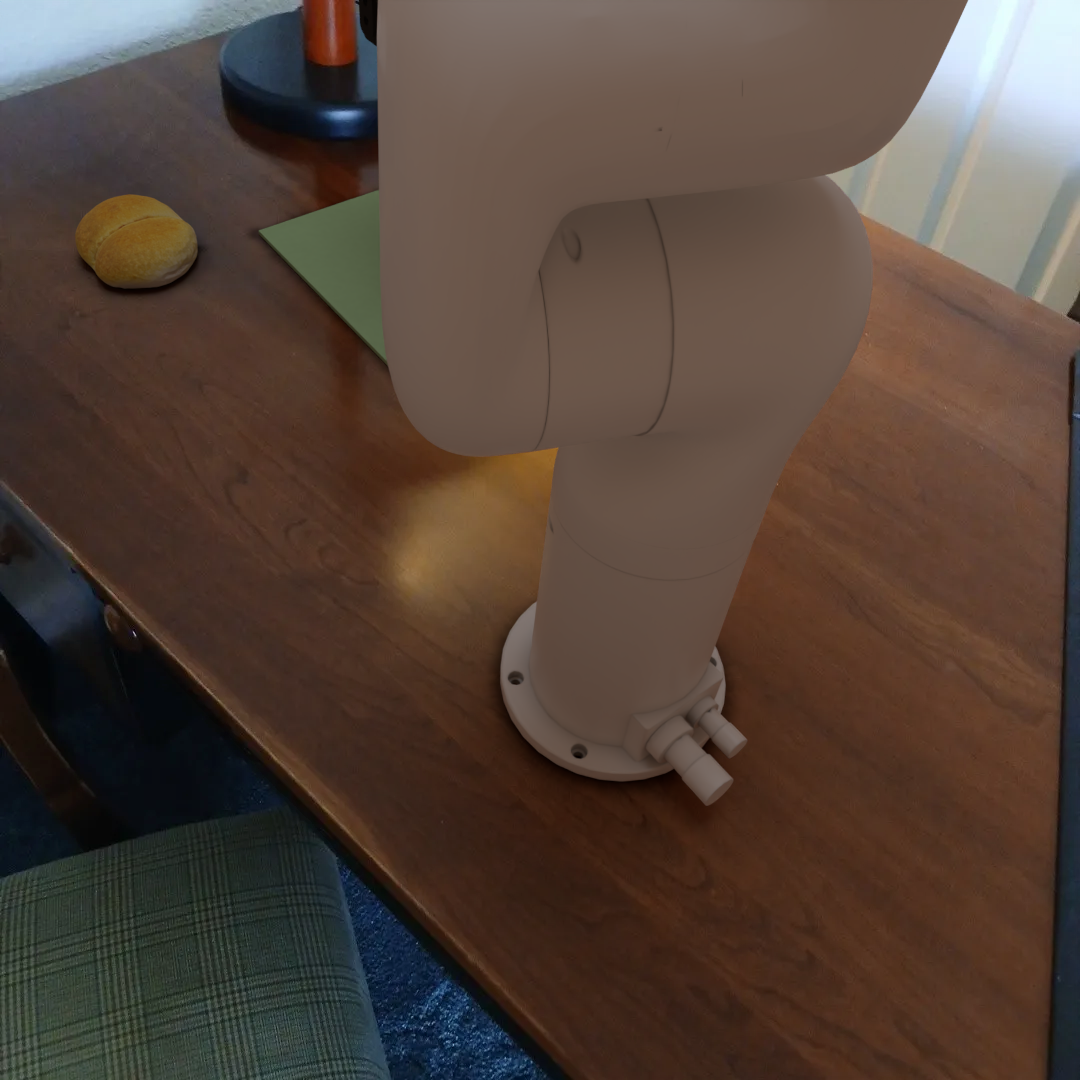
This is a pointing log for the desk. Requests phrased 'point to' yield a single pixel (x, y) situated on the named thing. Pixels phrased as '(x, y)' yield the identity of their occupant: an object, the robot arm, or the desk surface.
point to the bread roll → (136, 242)
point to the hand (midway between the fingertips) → (441, 29)
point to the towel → (339, 261)
